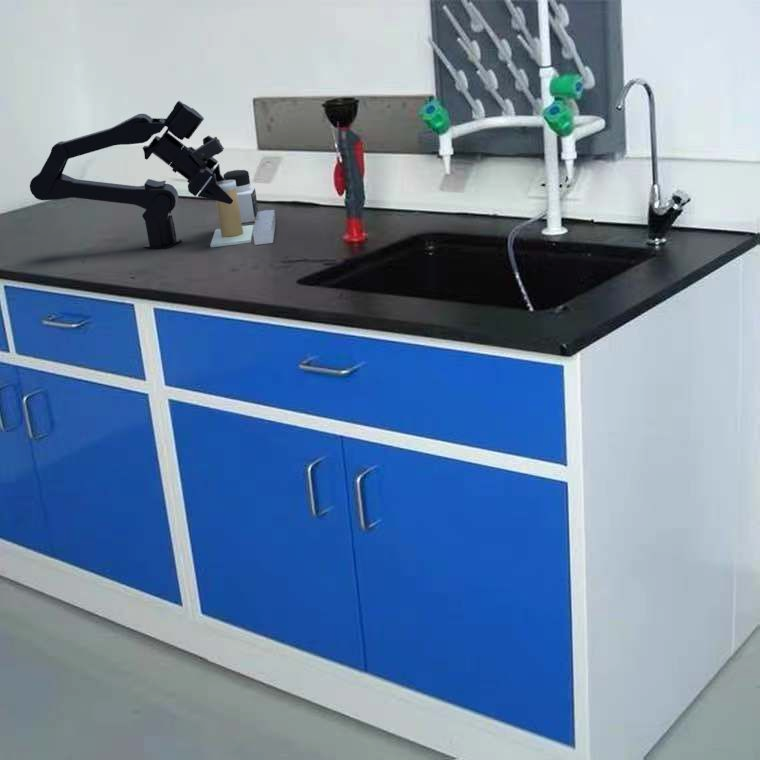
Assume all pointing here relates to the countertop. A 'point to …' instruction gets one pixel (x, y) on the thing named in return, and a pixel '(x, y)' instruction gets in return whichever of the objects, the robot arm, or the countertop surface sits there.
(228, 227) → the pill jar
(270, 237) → the grey rectangular bar
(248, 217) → the medicine bottle
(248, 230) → the pad
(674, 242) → the countertop surface
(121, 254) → the countertop surface
